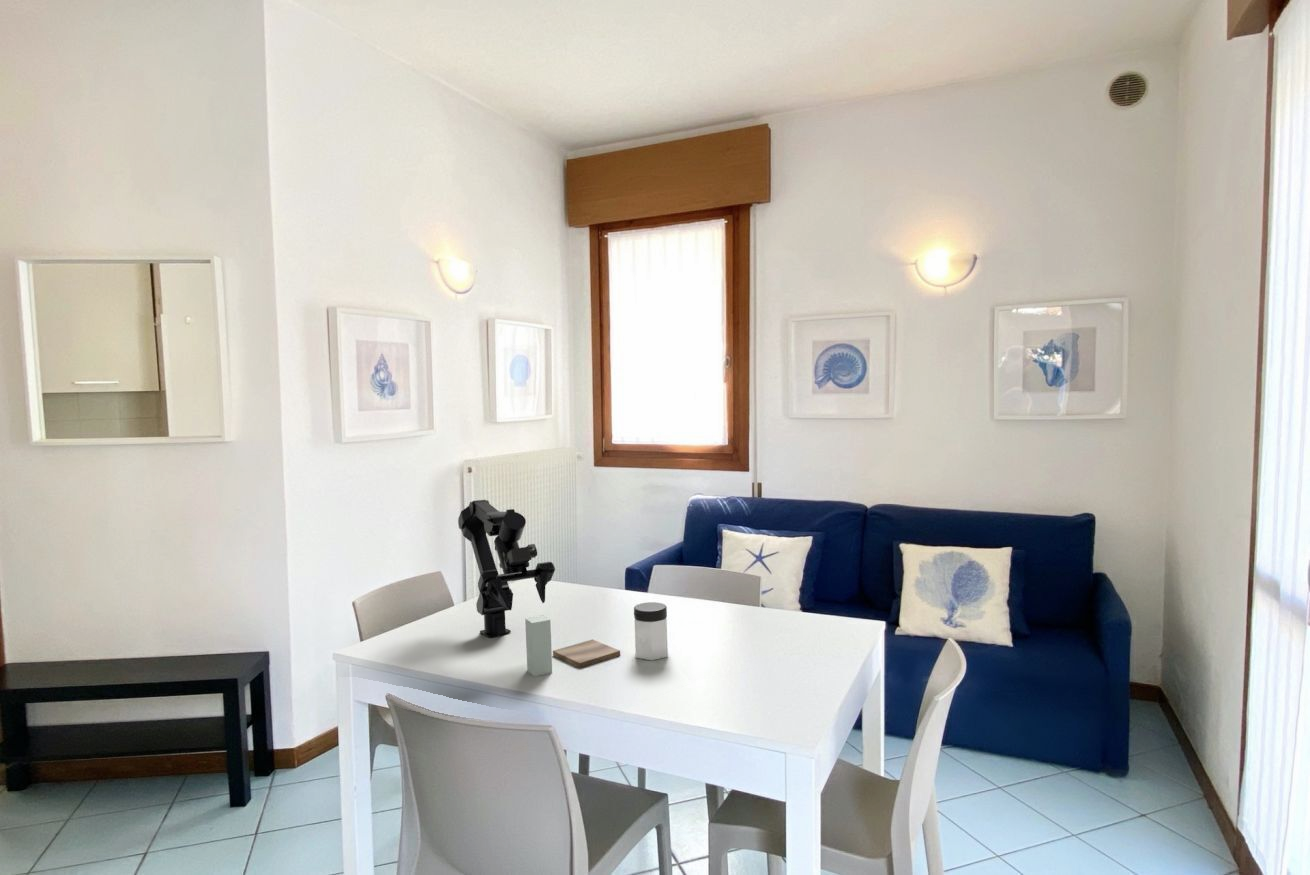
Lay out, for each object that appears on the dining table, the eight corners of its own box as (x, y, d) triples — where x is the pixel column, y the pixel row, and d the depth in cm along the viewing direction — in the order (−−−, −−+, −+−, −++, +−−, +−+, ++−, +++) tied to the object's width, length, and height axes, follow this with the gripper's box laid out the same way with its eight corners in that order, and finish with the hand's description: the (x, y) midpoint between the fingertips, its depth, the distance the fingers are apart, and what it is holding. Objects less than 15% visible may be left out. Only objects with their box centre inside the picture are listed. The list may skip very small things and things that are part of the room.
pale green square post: (527, 670, 166) (525, 618, 165) (545, 666, 168) (543, 615, 167) (533, 676, 162) (531, 623, 161) (552, 672, 164) (550, 619, 164)
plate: (553, 655, 175) (552, 650, 175) (592, 643, 183) (592, 639, 183) (580, 668, 166) (579, 663, 166) (620, 655, 174) (620, 650, 174)
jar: (627, 657, 173) (626, 608, 172) (644, 646, 180) (642, 600, 179) (659, 662, 168) (657, 613, 168) (675, 651, 175) (673, 604, 175)
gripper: (479, 539, 171) (494, 592, 162) (550, 530, 180) (569, 580, 171) (471, 565, 178) (486, 618, 169) (541, 556, 187) (558, 605, 178)
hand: (526, 605), depth 171 cm, fingers open, 9 cm apart
